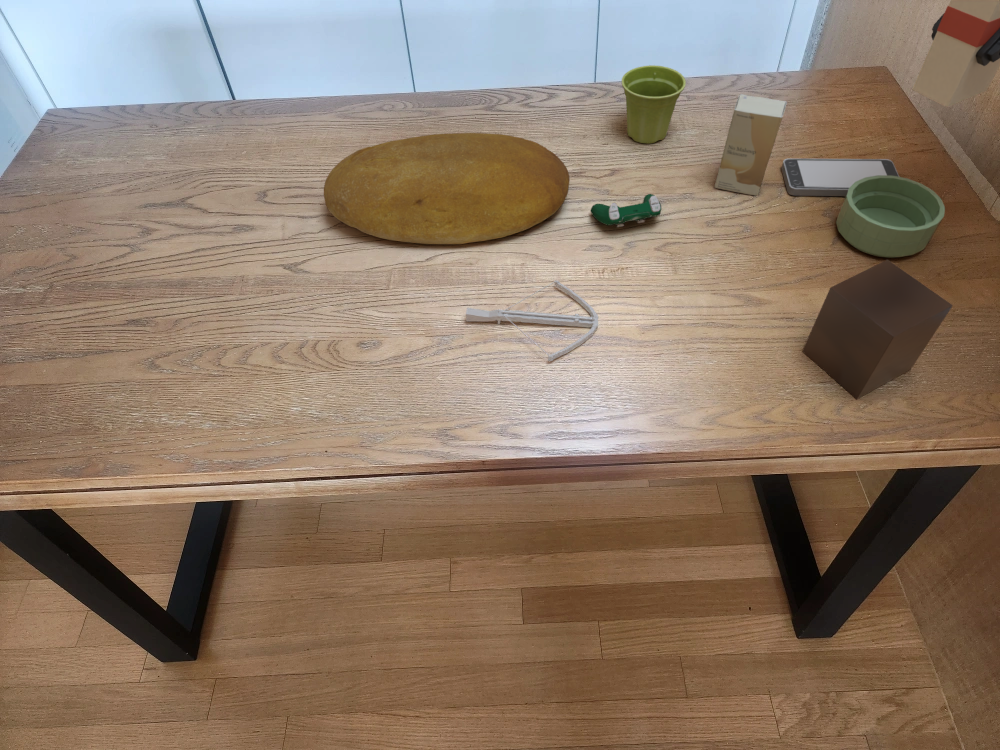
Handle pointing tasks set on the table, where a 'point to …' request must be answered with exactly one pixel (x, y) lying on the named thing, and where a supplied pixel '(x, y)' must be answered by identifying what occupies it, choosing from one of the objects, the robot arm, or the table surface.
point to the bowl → (889, 216)
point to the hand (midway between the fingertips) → (957, 50)
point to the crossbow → (543, 319)
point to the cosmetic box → (749, 143)
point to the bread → (447, 188)
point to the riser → (874, 327)
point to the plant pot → (651, 101)
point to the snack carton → (959, 53)
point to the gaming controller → (627, 211)
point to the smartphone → (831, 174)
